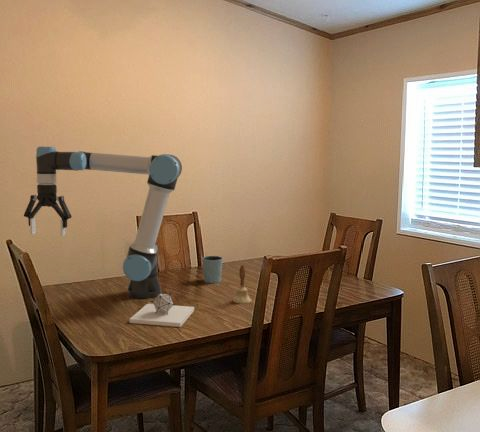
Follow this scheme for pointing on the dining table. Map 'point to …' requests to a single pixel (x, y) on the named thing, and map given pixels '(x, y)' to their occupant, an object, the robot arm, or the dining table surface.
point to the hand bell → (242, 289)
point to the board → (162, 316)
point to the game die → (163, 303)
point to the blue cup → (212, 269)
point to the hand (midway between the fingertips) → (48, 234)
